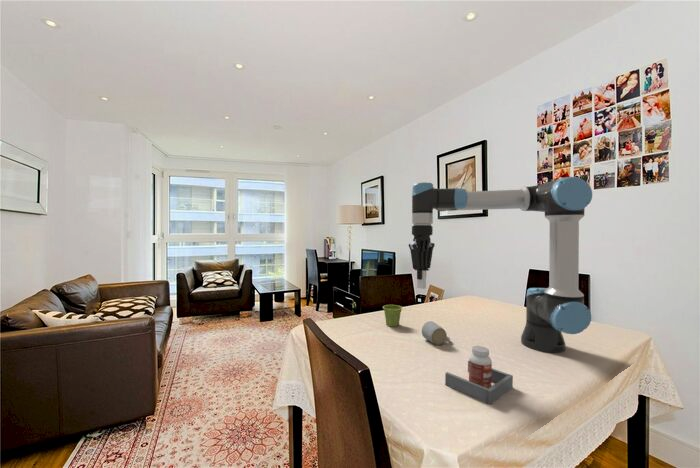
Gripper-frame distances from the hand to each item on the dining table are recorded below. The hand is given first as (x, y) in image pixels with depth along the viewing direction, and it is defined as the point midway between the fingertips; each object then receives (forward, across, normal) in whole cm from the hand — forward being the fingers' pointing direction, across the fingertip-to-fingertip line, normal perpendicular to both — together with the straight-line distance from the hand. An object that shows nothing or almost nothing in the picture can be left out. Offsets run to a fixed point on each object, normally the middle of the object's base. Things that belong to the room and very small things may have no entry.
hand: (421, 287), depth 115 cm
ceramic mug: (+25, -14, -3) cm, 29 cm away
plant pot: (+25, -17, -29) cm, 42 cm away
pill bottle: (+25, +6, +26) cm, 36 cm away
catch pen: (+24, +7, +26) cm, 36 cm away
